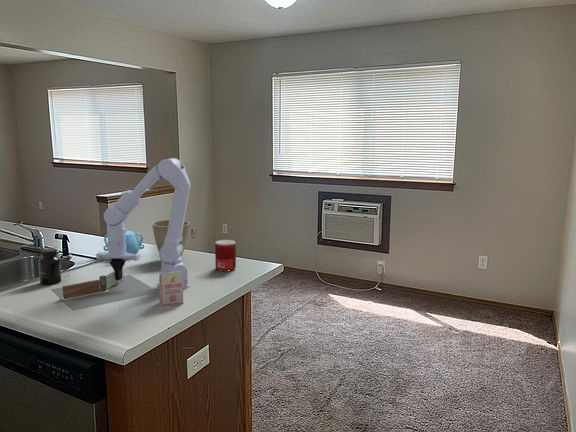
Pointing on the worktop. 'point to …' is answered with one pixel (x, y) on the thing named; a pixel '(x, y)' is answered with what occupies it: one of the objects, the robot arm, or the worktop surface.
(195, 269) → the worktop surface
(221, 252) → the canned food
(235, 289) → the worktop surface
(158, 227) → the plant pot
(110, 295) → the card
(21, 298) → the worktop surface
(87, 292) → the walnut fence section
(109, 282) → the sage fence panel
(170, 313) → the worktop surface
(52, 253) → the supplement bottle
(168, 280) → the pink white carton
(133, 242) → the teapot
